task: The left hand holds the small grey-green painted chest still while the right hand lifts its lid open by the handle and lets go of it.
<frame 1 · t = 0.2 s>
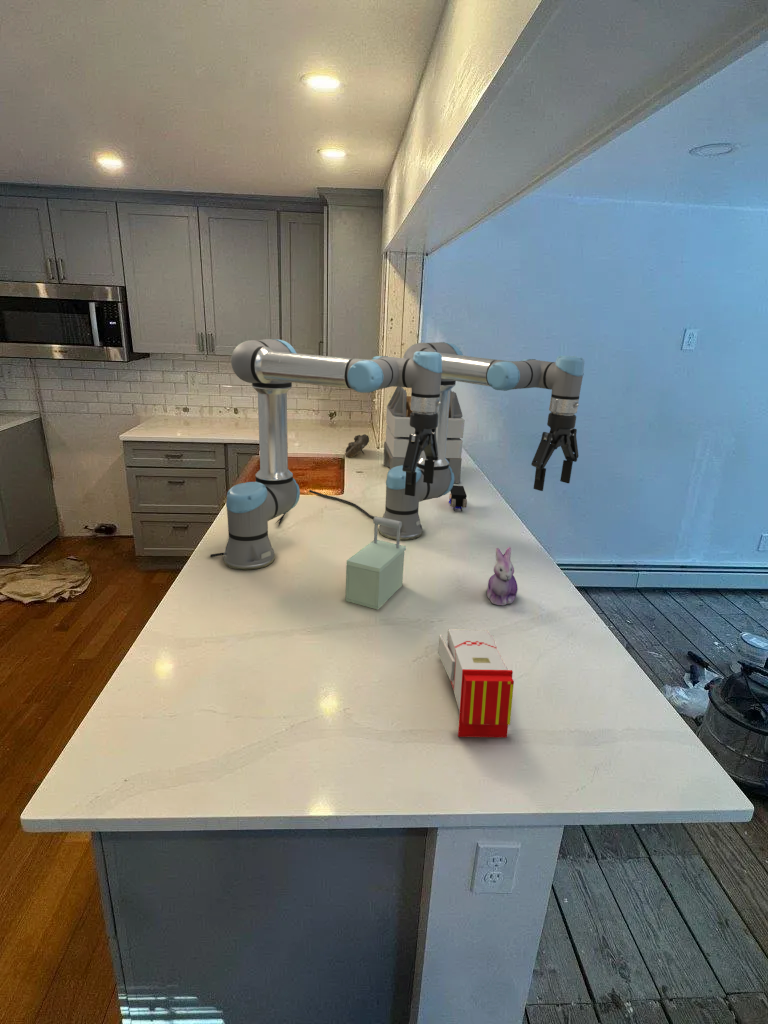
left hand: (419, 488, 157), 28 cm above the counter, tool pointing down, fingers open, 13 cm apart
right hand: (551, 486, 166), 28 cm above the counter, tool pointing down, fingers open, 13 cm apart
figurine character: (456, 507, 229), on the counter
toy: (469, 691, 119), on the counter
fossil: (356, 453, 306), on the counter
chest: (374, 592, 158), on the counter
figurine: (501, 598, 158), on the counter
lid: (377, 541, 153), point 15 cm above the counter, hinge at 0.0°
feather: (285, 514, 213), on the counter
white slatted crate: (419, 473, 275), on the counter
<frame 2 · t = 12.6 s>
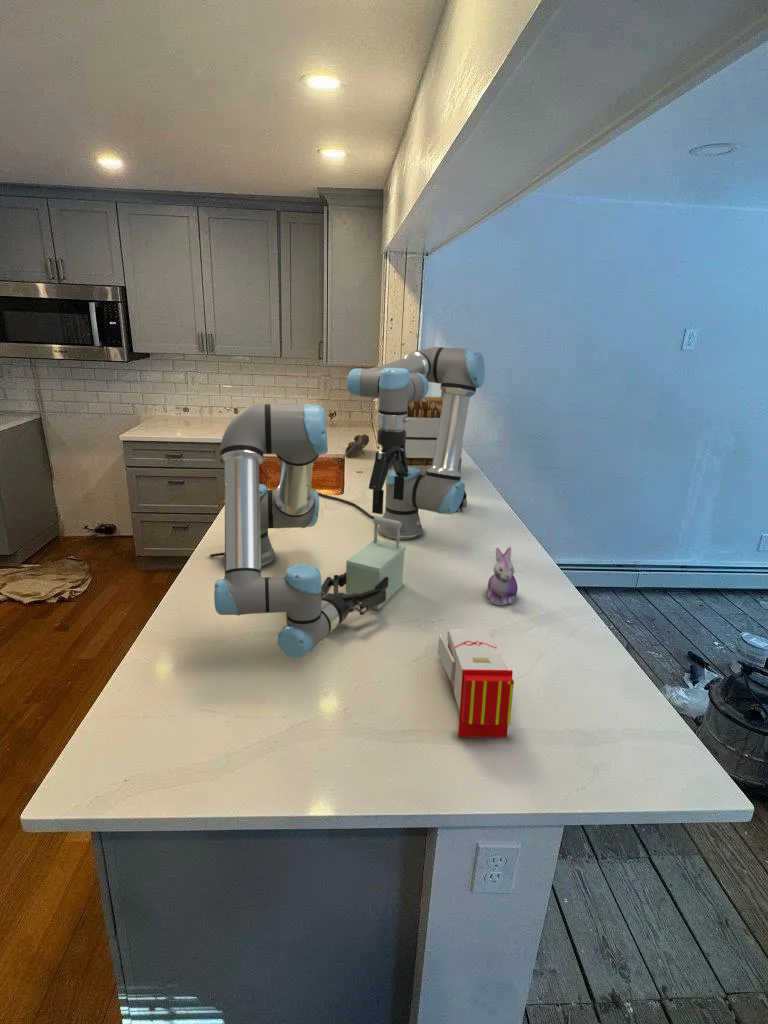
left hand: (369, 577, 152), 6 cm above the counter, tool horizontal, fingers closed on chest, 10 cm apart
right hand: (388, 506, 155), 24 cm above the counter, tool pointing down, fingers open, 13 cm apart
chest: (374, 592, 158), on the counter, touching left hand
everything else where it was.
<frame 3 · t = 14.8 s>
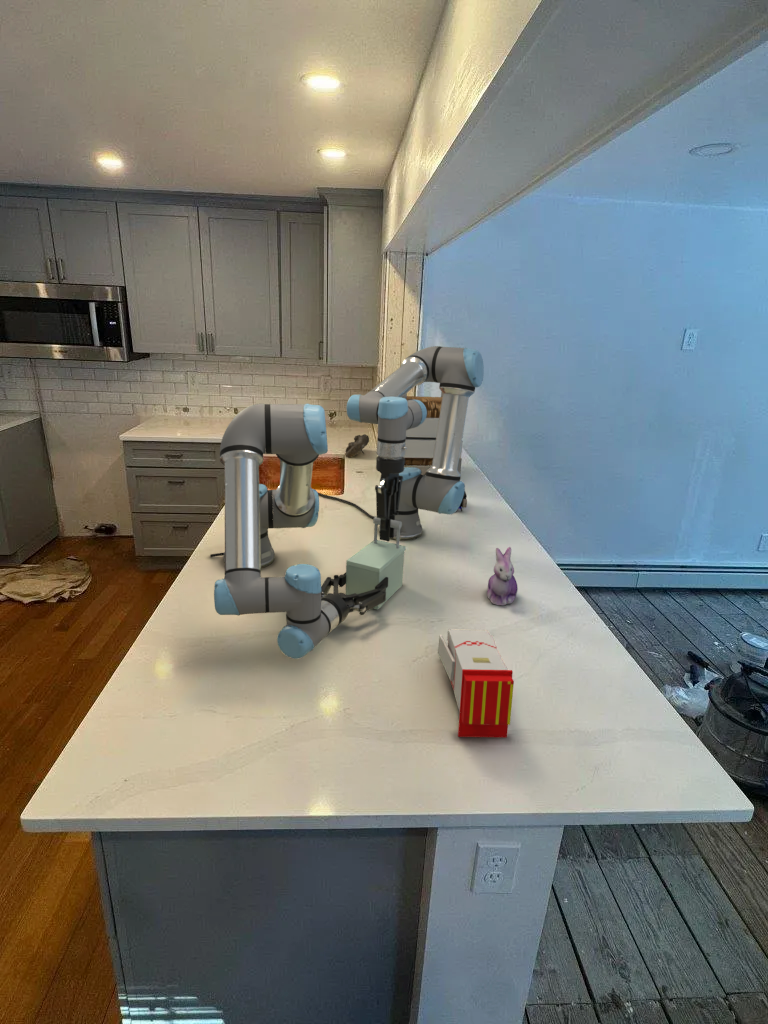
left hand: (369, 577, 152), 6 cm above the counter, tool horizontal, fingers closed on chest, 10 cm apart
right hand: (386, 538, 159), 14 cm above the counter, tool pointing down, fingers closed on lid, 2 cm apart
chest: (374, 592, 158), on the counter, touching left hand
lid: (377, 541, 153), point 15 cm above the counter, hinge at -0.1°, touching right hand
everything else where it was.
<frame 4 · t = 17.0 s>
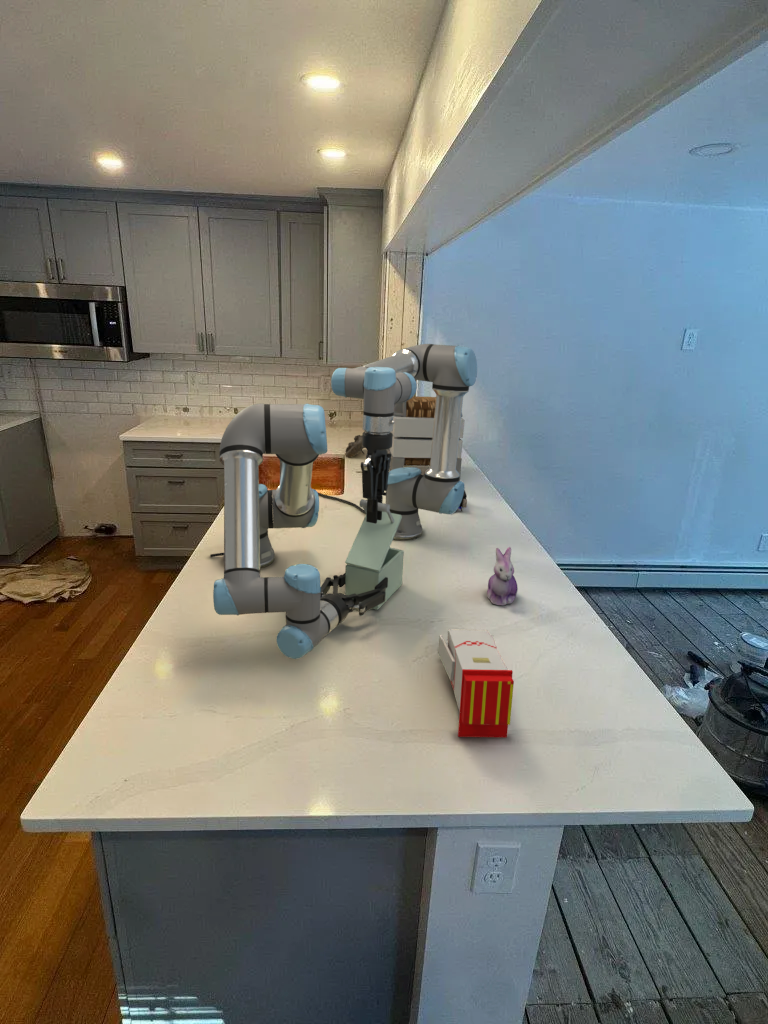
left hand: (368, 577, 152), 6 cm above the counter, tool horizontal, fingers closed on chest, 10 cm apart
right hand: (374, 520, 148), 22 cm above the counter, tool pointing down, fingers closed on lid, 2 cm apart
chest: (374, 592, 158), on the counter, touching left hand
lid: (369, 531, 147), point 20 cm above the counter, hinge at 38.9°, touching right hand
everything else where it was.
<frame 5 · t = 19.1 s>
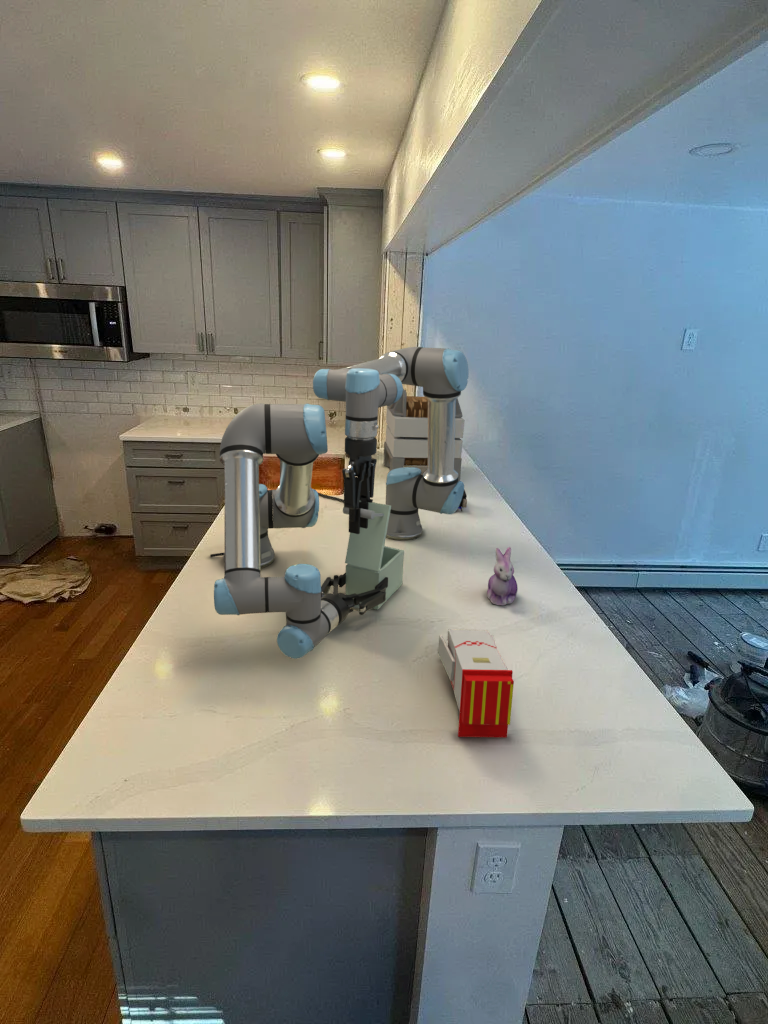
left hand: (369, 577, 152), 6 cm above the counter, tool horizontal, fingers closed on chest, 10 cm apart
right hand: (358, 529, 141), 23 cm above the counter, tool pointing down, fingers open, 4 cm apart
chest: (374, 592, 158), on the counter, touching left hand
lid: (361, 535, 143), point 21 cm above the counter, hinge at 71.2°
everything else where it was.
when the left hand's fingers open (7 cm above the counter, at t = 23.1 s): chest stays where it is, on the counter.
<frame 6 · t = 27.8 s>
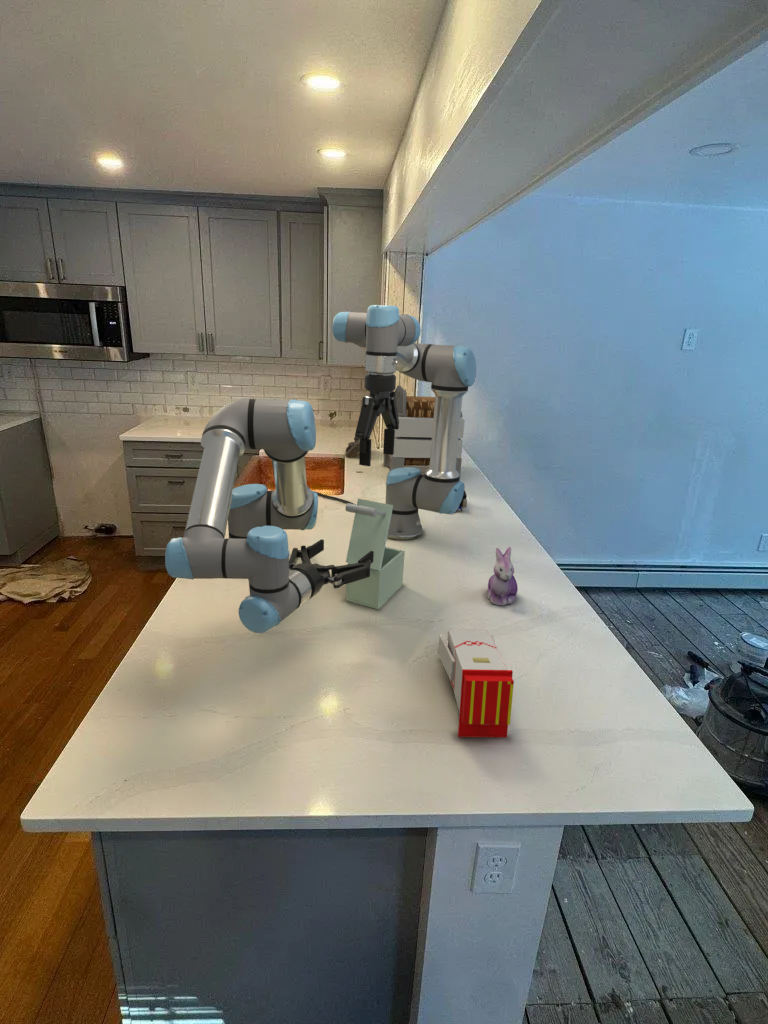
left hand: (346, 550, 137), 19 cm above the counter, tool horizontal, fingers open, 13 cm apart
right hand: (377, 459, 143), 39 cm above the counter, tool pointing down, fingers open, 13 cm apart
chest: (375, 592, 158), on the counter
lid: (362, 533, 143), point 21 cm above the counter, hinge at 69.4°
everything else where it was.
at the end: lid at +69° (first picture: +0°); the left hand is holding nothing; the right hand is holding nothing; chest tilted 0°; chest never tilted more than 2° during the clip; chest moved 0.2 cm from its start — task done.
